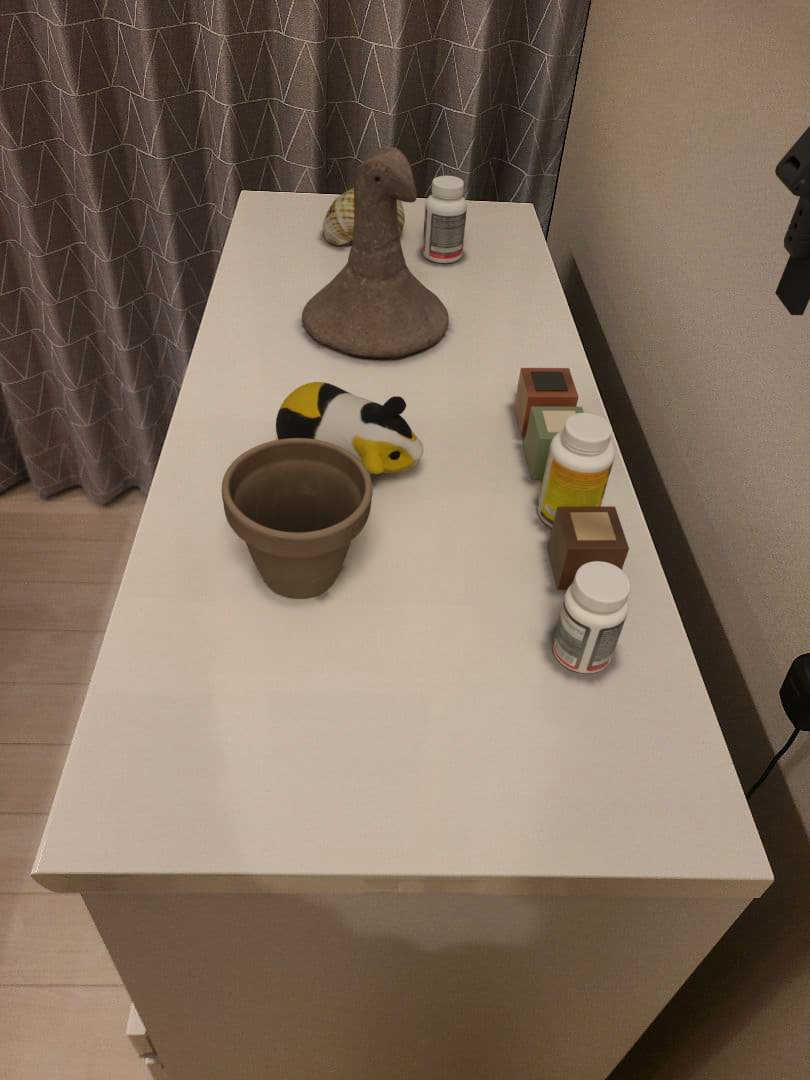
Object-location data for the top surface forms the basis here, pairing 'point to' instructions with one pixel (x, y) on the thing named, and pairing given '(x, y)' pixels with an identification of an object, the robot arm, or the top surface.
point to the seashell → (347, 219)
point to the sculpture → (377, 275)
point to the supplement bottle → (577, 465)
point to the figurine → (351, 426)
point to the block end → (543, 392)
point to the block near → (585, 540)
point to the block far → (544, 434)
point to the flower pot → (297, 510)
